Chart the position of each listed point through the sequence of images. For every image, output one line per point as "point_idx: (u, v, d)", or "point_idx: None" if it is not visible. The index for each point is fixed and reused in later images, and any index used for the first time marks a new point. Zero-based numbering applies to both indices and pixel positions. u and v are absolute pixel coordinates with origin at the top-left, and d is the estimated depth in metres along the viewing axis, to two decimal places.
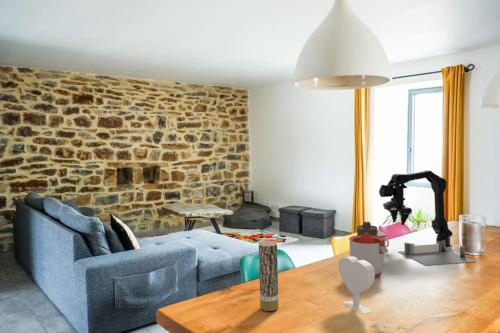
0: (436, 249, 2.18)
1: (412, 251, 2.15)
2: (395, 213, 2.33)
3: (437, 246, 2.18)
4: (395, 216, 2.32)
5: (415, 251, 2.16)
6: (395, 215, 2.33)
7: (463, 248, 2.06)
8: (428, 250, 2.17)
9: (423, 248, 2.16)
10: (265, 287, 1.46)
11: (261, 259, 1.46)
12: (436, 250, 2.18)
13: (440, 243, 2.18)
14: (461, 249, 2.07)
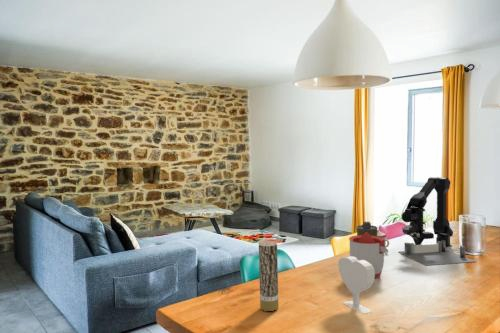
0: (436, 249, 2.18)
1: (412, 251, 2.15)
2: None
3: (437, 246, 2.18)
4: None
5: (415, 251, 2.16)
6: None
7: (463, 248, 2.06)
8: (428, 250, 2.17)
9: (423, 248, 2.16)
10: (265, 287, 1.46)
11: (261, 259, 1.46)
12: (436, 250, 2.18)
13: (440, 243, 2.18)
14: (461, 249, 2.07)
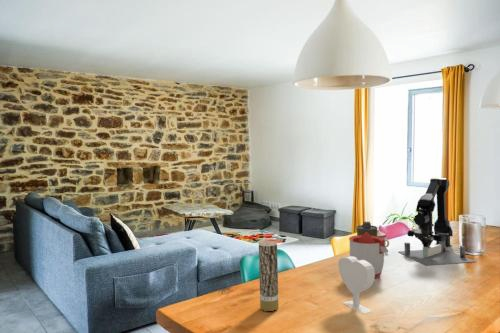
0: (440, 250, 2.16)
1: (426, 255, 2.07)
2: None
3: (440, 247, 2.16)
4: None
5: (428, 255, 2.08)
6: None
7: (463, 248, 2.06)
8: (435, 252, 2.13)
9: (432, 250, 2.11)
10: (265, 287, 1.46)
11: (261, 259, 1.46)
12: (440, 251, 2.16)
13: (442, 243, 2.17)
14: (461, 249, 2.07)
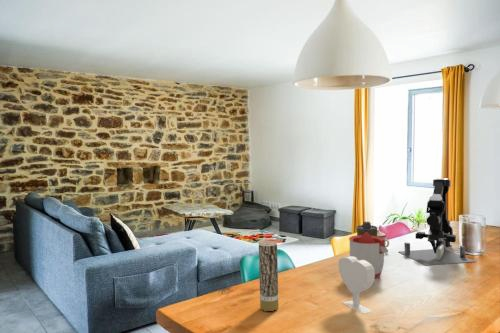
0: (443, 250, 2.15)
1: (440, 257, 2.03)
2: (434, 243, 2.09)
3: (443, 247, 2.15)
4: (435, 246, 2.09)
5: None
6: None
7: (463, 248, 2.06)
8: (442, 253, 2.11)
9: (441, 252, 2.08)
10: (265, 287, 1.46)
11: (261, 259, 1.46)
12: (443, 251, 2.15)
13: (444, 243, 2.16)
14: (461, 249, 2.07)
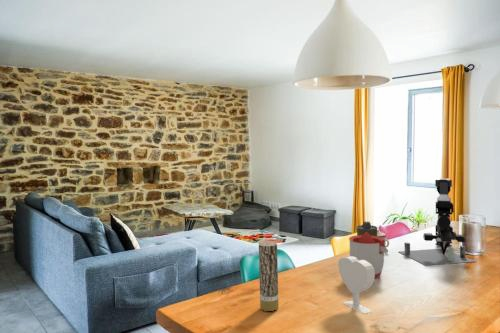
0: None
1: (451, 258, 2.01)
2: None
3: None
4: None
5: None
6: (442, 246, 2.07)
7: (463, 248, 2.06)
8: None
9: None
10: (265, 287, 1.46)
11: (261, 259, 1.46)
12: None
13: None
14: (461, 249, 2.07)
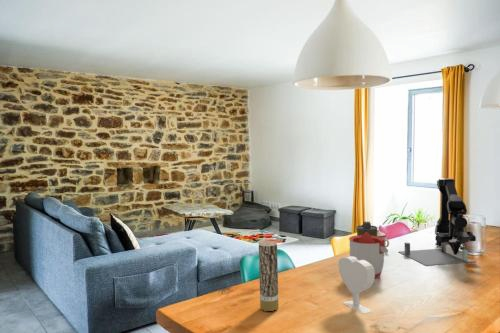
0: None
1: None
2: None
3: None
4: None
5: None
6: None
7: (463, 248, 2.06)
8: None
9: None
10: (265, 287, 1.46)
11: (261, 259, 1.46)
12: None
13: None
14: (461, 249, 2.07)
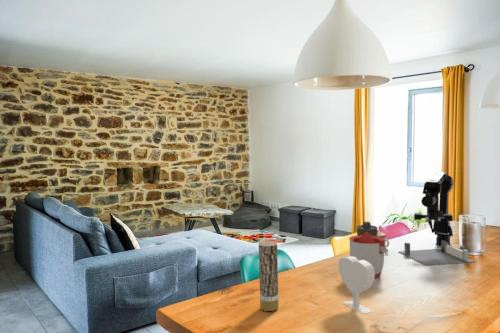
0: None
1: None
2: (431, 223, 2.17)
3: None
4: None
5: None
6: None
7: (463, 248, 2.06)
8: None
9: None
10: (265, 287, 1.46)
11: (261, 259, 1.46)
12: None
13: None
14: (461, 249, 2.07)
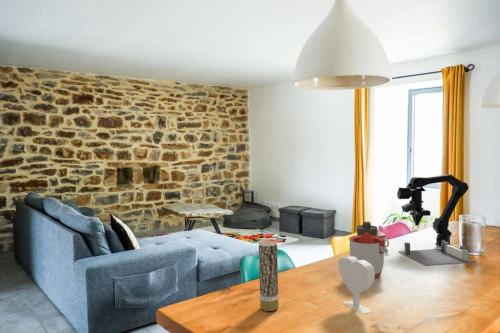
0: None
1: None
2: None
3: None
4: None
5: None
6: None
7: (463, 248, 2.06)
8: None
9: None
10: (265, 287, 1.46)
11: (261, 259, 1.46)
12: None
13: None
14: (461, 249, 2.07)
